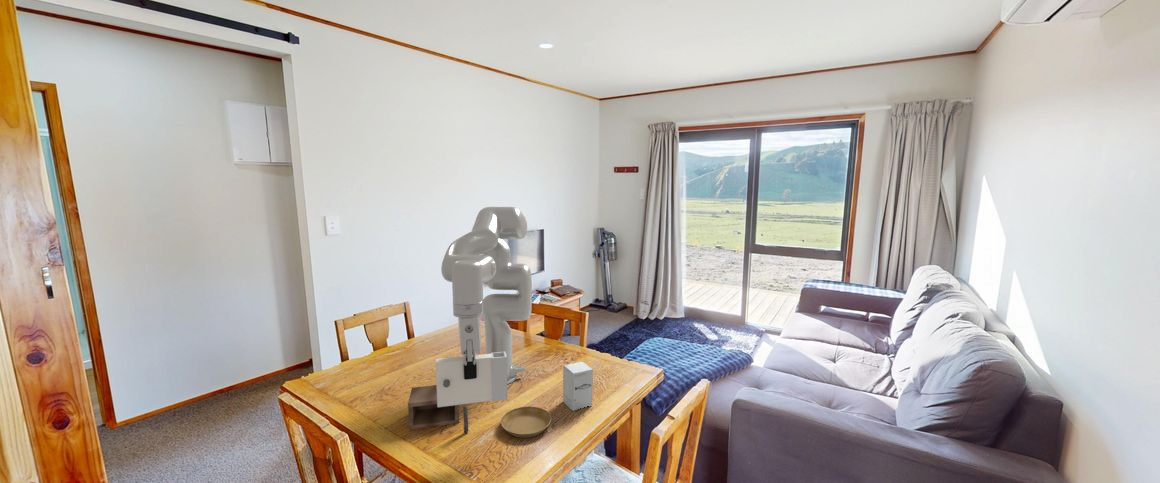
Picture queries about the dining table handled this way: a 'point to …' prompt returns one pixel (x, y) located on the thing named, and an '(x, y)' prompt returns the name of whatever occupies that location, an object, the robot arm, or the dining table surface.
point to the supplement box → (577, 385)
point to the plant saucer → (526, 421)
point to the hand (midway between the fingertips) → (470, 375)
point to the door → (471, 380)
